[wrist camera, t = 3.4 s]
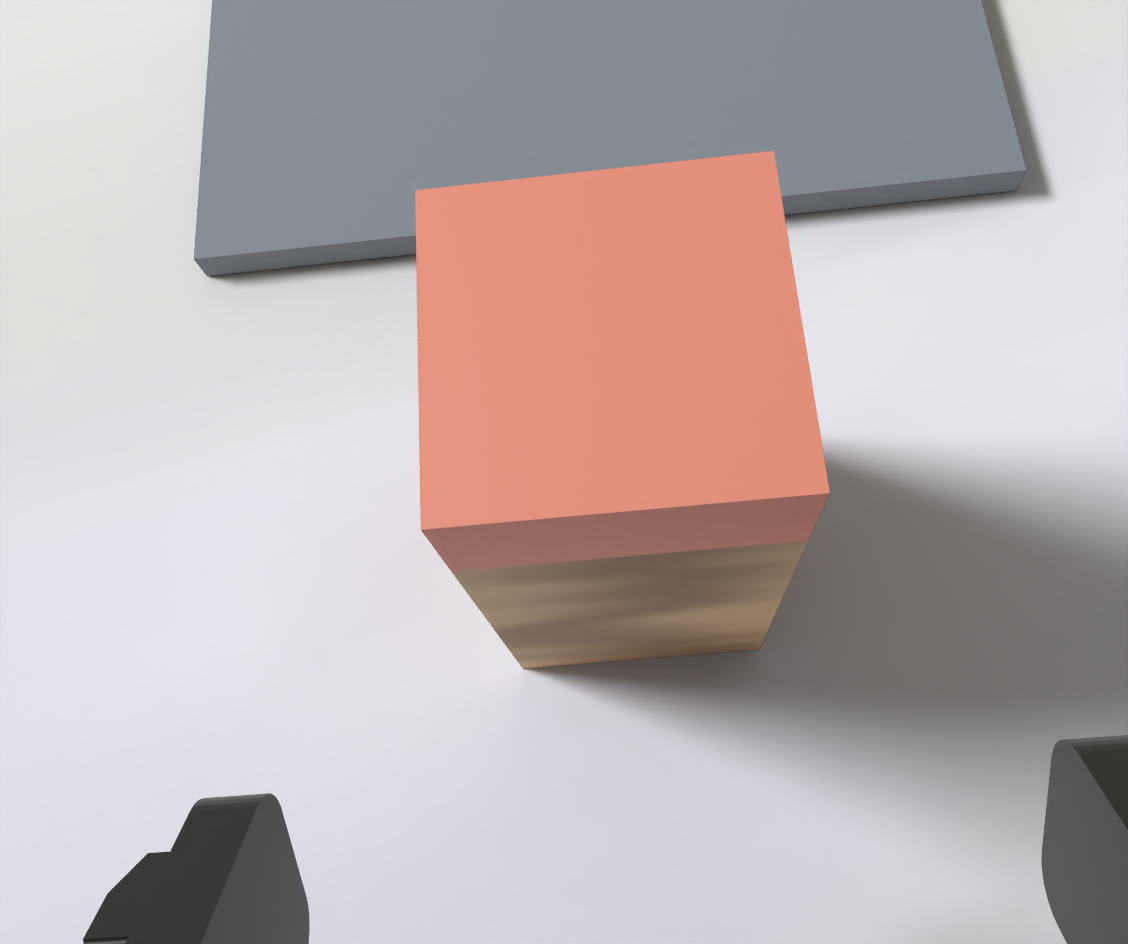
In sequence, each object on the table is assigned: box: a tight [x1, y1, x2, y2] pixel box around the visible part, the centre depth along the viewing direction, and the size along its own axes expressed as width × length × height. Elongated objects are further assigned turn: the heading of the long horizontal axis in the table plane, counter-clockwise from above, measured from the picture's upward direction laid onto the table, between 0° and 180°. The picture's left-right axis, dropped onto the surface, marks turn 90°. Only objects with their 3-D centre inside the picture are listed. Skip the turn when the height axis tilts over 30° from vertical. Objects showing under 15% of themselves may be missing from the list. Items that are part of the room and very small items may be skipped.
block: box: [415, 151, 830, 669], centre depth 18 cm, size 5×5×10 cm
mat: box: [194, 0, 1026, 276], centre depth 28 cm, size 20×14×1 cm
